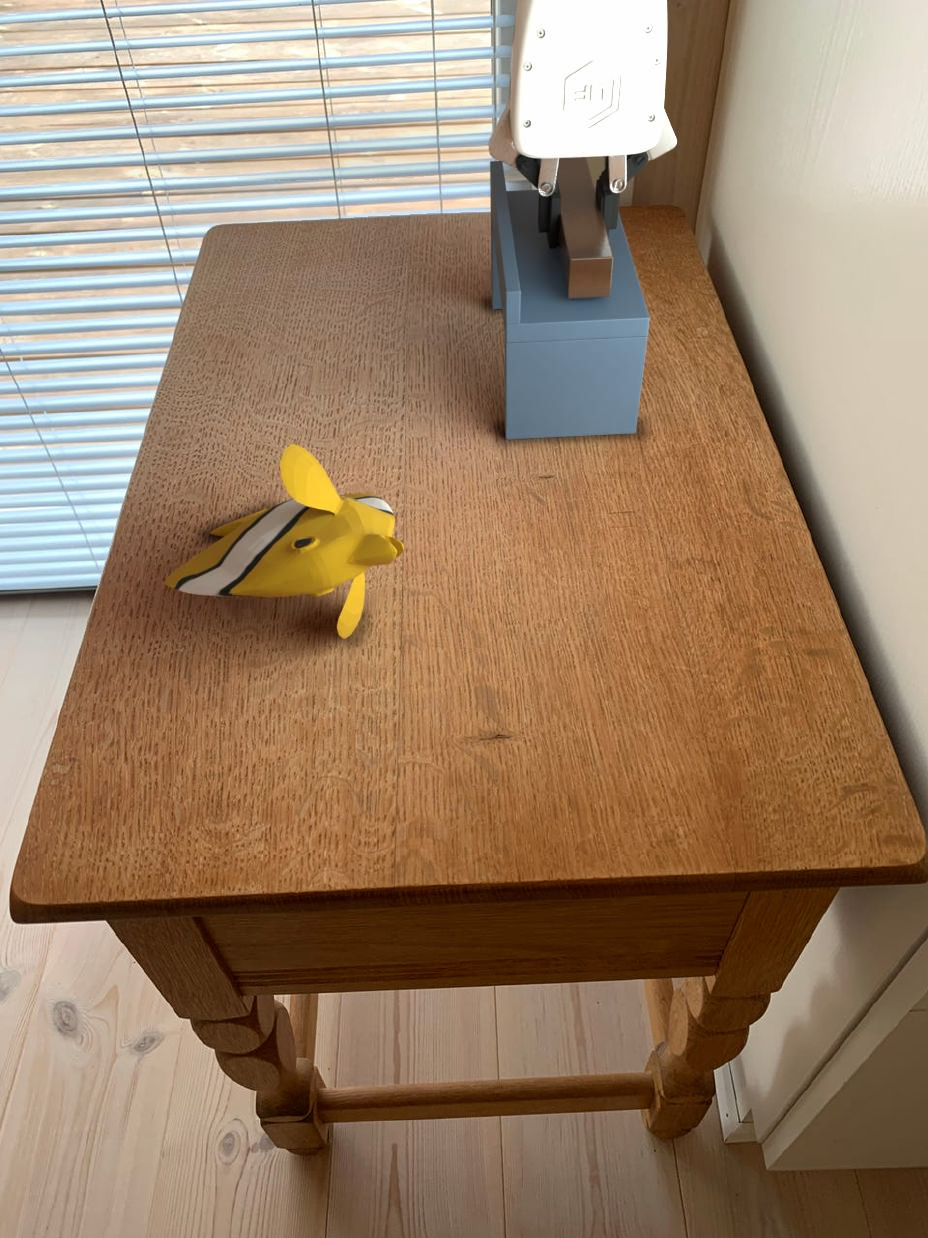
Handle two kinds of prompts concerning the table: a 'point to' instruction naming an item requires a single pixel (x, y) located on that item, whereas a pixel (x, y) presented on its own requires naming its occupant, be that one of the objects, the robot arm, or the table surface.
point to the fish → (298, 544)
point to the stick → (582, 233)
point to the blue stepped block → (563, 330)
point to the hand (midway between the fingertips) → (576, 236)
